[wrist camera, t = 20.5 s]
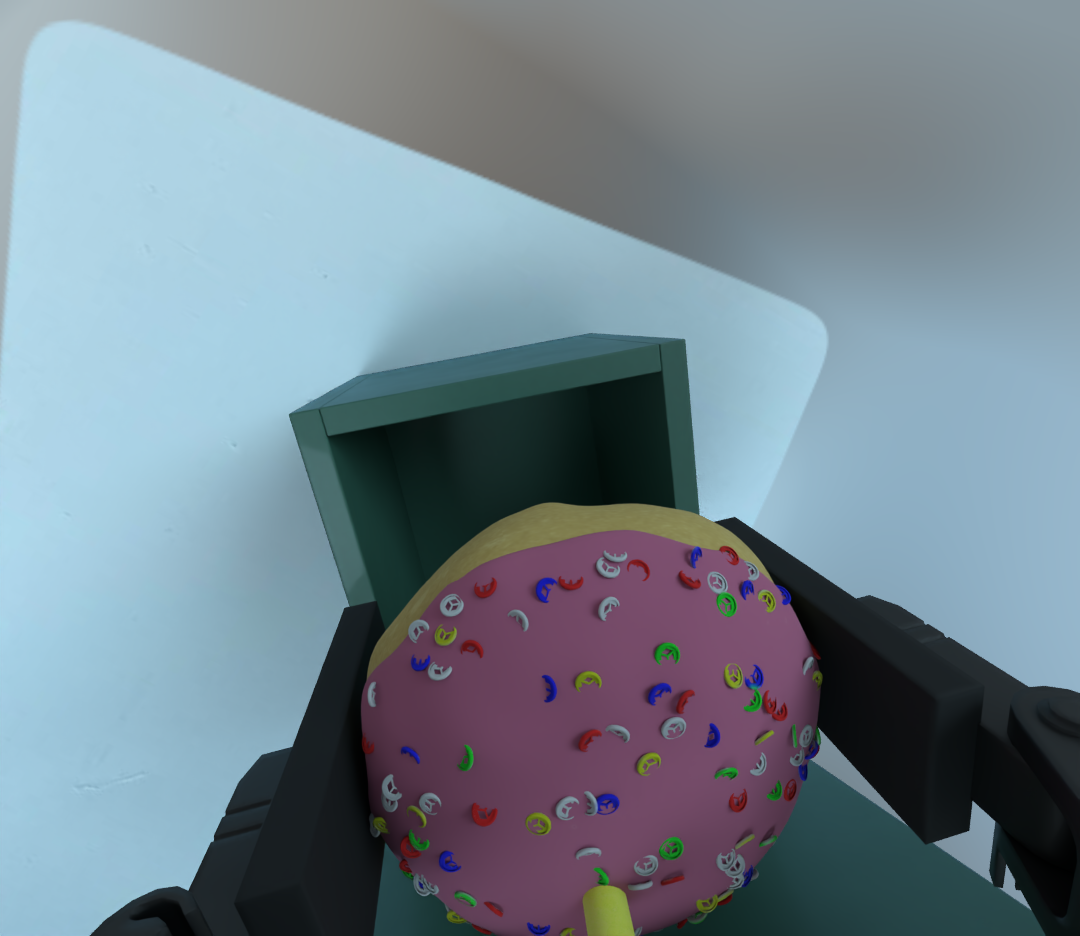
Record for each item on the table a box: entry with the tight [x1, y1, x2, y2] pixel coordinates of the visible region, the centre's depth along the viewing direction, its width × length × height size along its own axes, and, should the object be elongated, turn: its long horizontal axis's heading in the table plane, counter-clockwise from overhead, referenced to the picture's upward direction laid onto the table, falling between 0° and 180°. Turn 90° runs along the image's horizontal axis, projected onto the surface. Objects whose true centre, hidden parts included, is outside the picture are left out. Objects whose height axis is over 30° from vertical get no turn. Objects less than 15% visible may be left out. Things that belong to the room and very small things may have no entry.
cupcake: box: [361, 503, 822, 936], centre depth 8 cm, size 9×8×12 cm
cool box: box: [289, 333, 699, 630], centre depth 26 cm, size 16×14×13 cm
